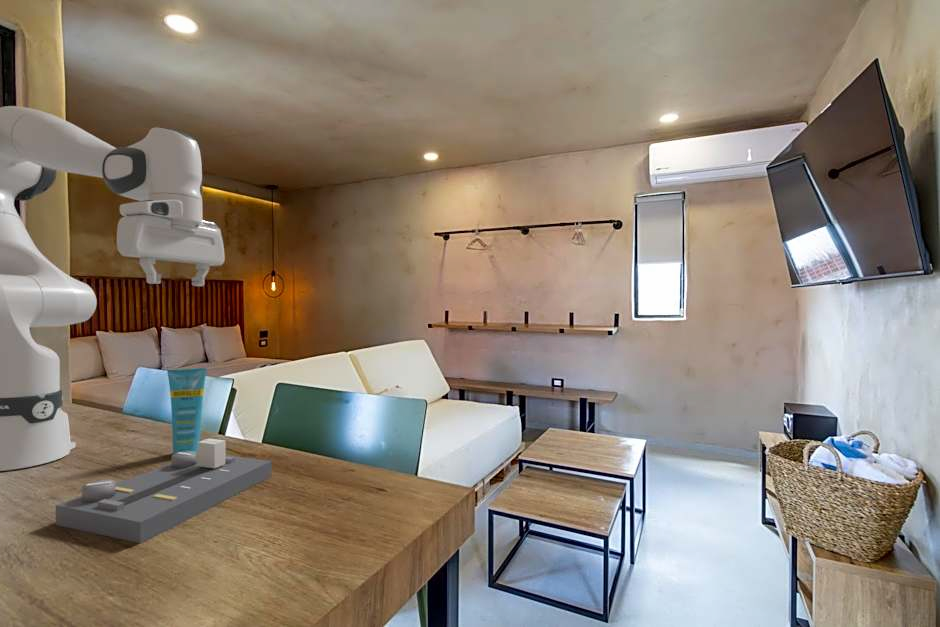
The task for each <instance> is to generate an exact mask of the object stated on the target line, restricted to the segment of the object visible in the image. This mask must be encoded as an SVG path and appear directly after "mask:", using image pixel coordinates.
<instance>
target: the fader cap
mask: <svg viewBox="0 0 940 627" xmlns="http://www.w3.org/2000/svg"><path fill="white" fill-rule="evenodd" d="M226 444H227V441H226V440H223V439H216V438H207V439H203V440H200V442H198V453H197V454H198V464H197V466H201V467H208V468H214V469H215V468H217V467H219V466H222V465H224V464H225V460H226V455H227V453H226V448H227V447H226Z"/></svg>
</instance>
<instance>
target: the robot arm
mask: <svg viewBox="0 0 940 627" xmlns="http://www.w3.org/2000/svg"><path fill="white" fill-rule="evenodd" d="M201 155H202V154H201V150H200V147H199V144H198V141H196V139H195V138H194V137H192V136H190V135H189V134H187V133H185V132H181V131H180V130H176V129H173V128H170V127H164V126H156V127H153V128H151V129H150V130H149V131H148V134H147V135H146V136H145V137H143V139H141V140H139V141H138V142H135V143H134V144H132V145H131V144H130V145H128V146H120V147H116V146H113V145H111V144H109V143H108V142H106V141H103V140H102V139H100V138H98V137H96V136H95V135H93V134H92V133H89V132H87V131H86V130H84V129H83V128H81V127H79V126H78V125H75V124H73V123H71V122H70V121H67V120H65V119H64V118H61V117H59V116H57V115H54V114H52V113H49V112H46V111H42V110H39V109H36V108H35V109H34V108H30V107H25V106H18V105H8V106H6V105H5V106H2V107H0V472H3V471H12V470H19V469H24V468H30V467H34V466H39V465H43V464H47V463H50V462H53V461H56V460H59V459H62V458H64V457H66V456H67V455H69V454H70V453H71V451H72V450H73V449H75V448H77V447H76V446H77V445H76V441H71V436H70V435H71V434H70V433H71V432H70V425H69V424H70V423H69V416H68V413H66V411H63V409H62V407H63V402H64V401H63V400H64V395H63V390H62V389H61V387H60V386H61V383H60V382H61V369H60V368H61V364H60V363H61V360H60V356H59V355H58V354H57V352H55V351H54V350H53V349H51V348H49V347H47V346H45V345H42V344H39V343H37V342H36V341H35V340H34V339H33V337H32V334H31V330H30V328H49V327H50V328H52V327H66V326H71V325H75V324H79V323H80V324H81V323H84V322H86V321H89V319H91V317H93V315H94V313H95V312H96V308H97V304H98V302H97V301H98V300H97V297H96V293H95V291H94V290H93V289H92V288H91V286H90V285H89V284H87V283H85V282H83V281H80V280H78V279H77V278H74V277H72V276H70V275H69V274H67V273H65V272H64V271H63V270H62V269H60V268H59V267H57V266H56V265H55V264H54V263H52V262H51V261H50V260H49V259H48V258H47V257H46V256H45V255H43V253H42V252H41V251H40V250H39V249H38V247H37V246H36V245H35V243H34V241H33V239H32V238H31V235H30V234H29V232H28V230H27V228H26V226H25V224H24V222H23V221H22V218H21V217H20V214H19V213H18V212H17V209H16V207H15V200H18V201H30V200H32V199H33V198H34V197H35V196H39V195H41V194H43V193H44V192H46V191H47V190H49V189H50V188H51V187H52V186H53V185H54V183H55V182H56V179H57V173H58V172H57V171H59V172H64V173H70V174H76V175H84V176H89V177H95V178H99V179H103V181H104V183H105V185H106V186H107V187H108V189H109V190H110V191H111V192H112V193H114V194H117V195H119V196H121V197H125V198H128V199H132V200H135V201H134V202H133V201H132V202H127V203H122V204H120V205H119V214H121V216H122V217H121V218H120V219H119V220H118V223H117V228H116V248H117V249H116V250H117V251H118V253H120V255H121V256H122V257H129V258H139V265H140V267H141V268H142V270H143V272H144V273H145V274H146V276H145V277H146V280H145V281H146V283H147V284H150V285H151V284H153V285H155V284H156V285H158V284H161V283H162V274H161V273H158V272H157V271H156V269H155V267H154V265H156V261H157V260H158V261H164V262H174V263H181V264H183V263H184V264H192V265H193V264H194V265H195V270H197V272H196V274H195V276H192V277H191V285H192V286H193V287H204V286H205V280H206V279H205V278H206V276H207V275H208V273H209V271H210V267H215V266H218V267H219V266H222V265H223V264H224V262H225V260H226V258H225V257H226V256H225V247H224V239H223V237H222V231H221V229H220V227H219V226H217V224H216V223H215V222H213V221H207V220H204V219H203V216H204V214H203V213H204V212H203V198H202V197H203V194H204V190H203V188H204V187H203V184H202V181H203V168H202V166H203V165H202V164H203V162H202V156H201Z"/></svg>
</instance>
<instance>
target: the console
mask: <svg viewBox="0 0 940 627" xmlns="http://www.w3.org/2000/svg"><path fill="white" fill-rule="evenodd" d="M170 459H171V460H170V461H171V463H169V464H165V465H163V466H161V467H157V468H155V469H152V470H150V471H147V472H144V473H141V474H138V475H135V476H132V477H129V478H128V479H123V480H122V481H119V482H116V481H115V480H114V479H100V480H95V481H91V482H89V483H86V484H84V485H82V487H81V495H80V496H77V497H74V498H72V499H70V500H66V501H63V502H61V503H58V504H55V526H58V527H63V528H69V529H72V530H77V531H82V532H86V533H87V532H88V533H91V534H96V535H99V536H100V535H101V536H104V537H105V536H106V537H109V538H114V539H119V540H124V541H128V542H133V543H138V544H142V543H144V542H146V541H148V540H150V539H152V538H154V537H155V536H158V535H160V534H162V533H163V532H166V531H168V530H169V529H171V528H174V527H175V526H177V525H179V524H181V523H183V522H185V521H186V520H187V521H188V520H189V519H191V518H192V517H195V516H197V515H199V514H201V513H202V512H205V511H206V510H209V509H211V508H212V507H214V506H216V505H218V504H220V503H222V502H225V501H226V500H228V499H230V498H232V497H234V496H236V495H238V494H240V493H242V492H244V491H245V490H247V489H249V488H252V487H254V486H256V485H257V484H260V483H261V482H264V481H265V480H267V479H269V478H270V477H272V465H273V464H272V463H273V461H272V460H266V459H258V458H257V459H256V458H252V457H251V458H249V457H243V456H236V455H235V456H234V455H228V454H226V460H225V464H224V465H222V466H219V467H217V468H215V469H214V468H208V467H201V466H197V464H198V453H197V454H196V452H194V451H185V452H179V453H176V454H173V453H172V455H171V458H170Z"/></svg>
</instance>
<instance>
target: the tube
mask: <svg viewBox="0 0 940 627" xmlns="http://www.w3.org/2000/svg"><path fill="white" fill-rule="evenodd" d="M207 368H208V367H195V368H183V369H182V368H180V369H178V368H177V369H175V368H174V369H167V371H166V372H167V378H168V383H169V386H168V387H169V394H170V406H171V407H170V408H171V410H170V411H171V425H172V426H171V427H172V428H171V429H172V432H171V433H172V455H173V454H176V453H179V452H185V451H194V452H196V454H198V442H200V441H201V425H202V413H203V402H204V392H205V391H204V390H205V384H206V376H207V370H208V369H207Z"/></svg>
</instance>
